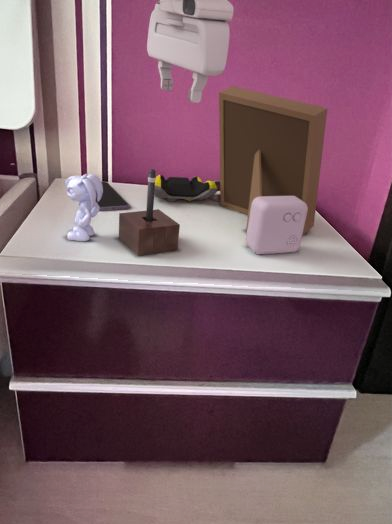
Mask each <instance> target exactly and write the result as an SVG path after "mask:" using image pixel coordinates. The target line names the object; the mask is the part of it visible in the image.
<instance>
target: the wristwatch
mask: <svg viewBox="0 0 392 524" xmlns="http://www.w3.org/2000/svg"><path fill="white" fill-rule="evenodd" d="M213 182H215V184H216V186H217V192H216V193H218V192H220V180H213ZM216 193H215V194H213V195H212V196H210V199H211V200H213V201H215V202H220V194H216Z"/></svg>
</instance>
